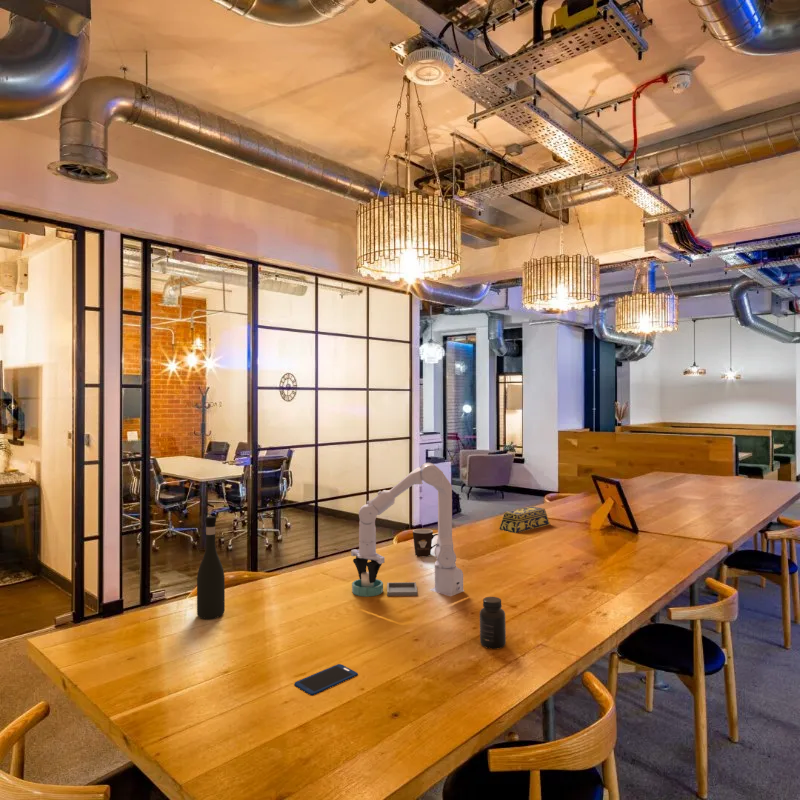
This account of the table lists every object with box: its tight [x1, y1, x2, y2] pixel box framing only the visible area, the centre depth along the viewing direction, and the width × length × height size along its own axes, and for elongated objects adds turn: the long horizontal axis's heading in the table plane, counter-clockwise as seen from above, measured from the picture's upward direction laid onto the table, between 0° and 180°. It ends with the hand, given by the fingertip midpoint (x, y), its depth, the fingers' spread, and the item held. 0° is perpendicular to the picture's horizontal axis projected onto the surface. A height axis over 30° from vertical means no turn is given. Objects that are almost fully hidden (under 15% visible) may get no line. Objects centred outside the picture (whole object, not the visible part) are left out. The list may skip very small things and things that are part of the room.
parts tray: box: [386, 581, 418, 597], centre depth 195 cm, size 10×10×2 cm
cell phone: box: [293, 663, 359, 696], centre depth 134 cm, size 7×14×1 cm, turn 135°
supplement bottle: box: [479, 596, 507, 650], centre depth 153 cm, size 7×7×12 cm
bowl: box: [351, 578, 384, 598], centre depth 194 cm, size 10×10×3 cm
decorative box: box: [498, 506, 551, 534], centre depth 294 cm, size 11×30×9 cm, turn 132°
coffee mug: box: [412, 528, 438, 557], centre depth 241 cm, size 12×9×10 cm
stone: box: [361, 571, 374, 588], centre depth 194 cm, size 4×4×4 cm
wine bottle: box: [196, 515, 226, 620], centre depth 174 cm, size 8×8×30 cm
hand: (367, 580), depth 194 cm, fingers closed on stone, 4 cm apart
